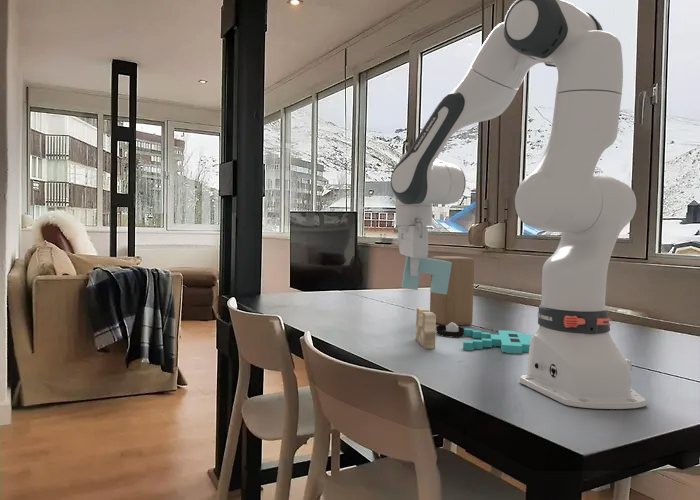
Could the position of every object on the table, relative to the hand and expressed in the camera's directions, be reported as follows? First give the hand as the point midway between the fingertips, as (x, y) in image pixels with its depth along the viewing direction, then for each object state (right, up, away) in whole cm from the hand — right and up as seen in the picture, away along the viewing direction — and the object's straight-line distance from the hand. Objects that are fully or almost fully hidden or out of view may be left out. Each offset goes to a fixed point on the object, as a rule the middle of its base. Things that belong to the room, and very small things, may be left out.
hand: (412, 275), depth 140 cm
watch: (+11, -17, +13) cm, 24 cm away
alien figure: (+23, -18, +2) cm, 29 cm away
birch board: (+3, -17, +1) cm, 17 cm away
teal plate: (+3, -4, 0) cm, 5 cm away
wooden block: (+15, -16, +33) cm, 40 cm away
